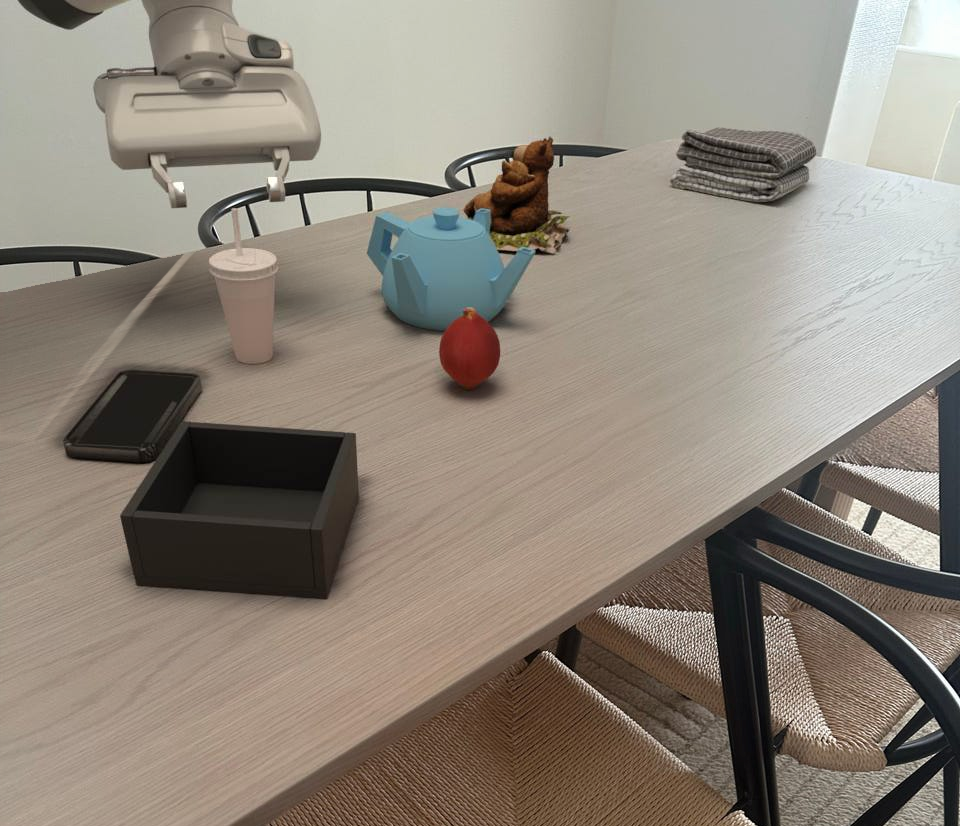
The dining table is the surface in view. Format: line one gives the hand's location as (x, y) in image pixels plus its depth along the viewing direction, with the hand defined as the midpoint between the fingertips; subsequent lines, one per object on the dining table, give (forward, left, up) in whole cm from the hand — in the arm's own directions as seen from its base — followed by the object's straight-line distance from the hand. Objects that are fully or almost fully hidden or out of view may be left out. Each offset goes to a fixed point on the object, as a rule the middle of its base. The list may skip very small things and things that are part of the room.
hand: (229, 202), depth 95 cm
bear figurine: (+26, +36, -13) cm, 47 cm away
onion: (+24, -10, -13) cm, 29 cm away
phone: (-4, -21, -13) cm, 25 cm away
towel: (+60, +67, -13) cm, 91 cm away
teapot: (+20, +9, -13) cm, 26 cm away
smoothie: (+2, -6, -13) cm, 15 cm away
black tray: (+10, -38, -13) cm, 41 cm away
